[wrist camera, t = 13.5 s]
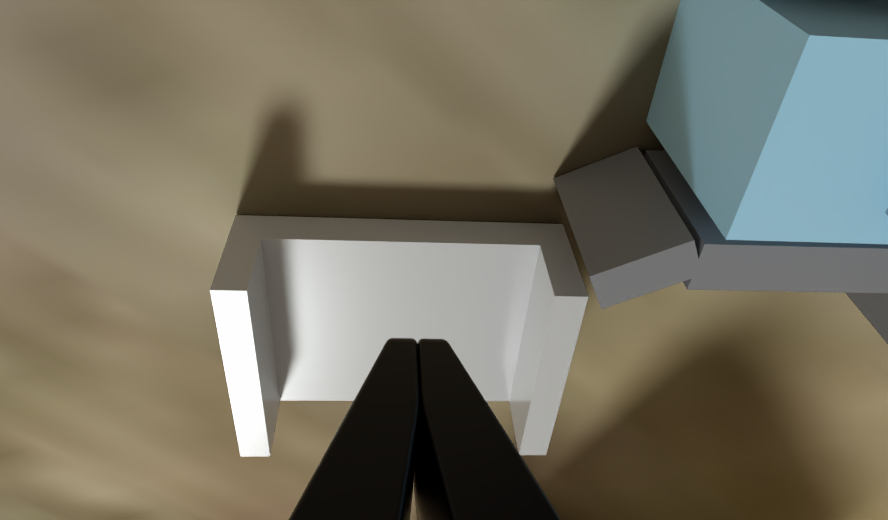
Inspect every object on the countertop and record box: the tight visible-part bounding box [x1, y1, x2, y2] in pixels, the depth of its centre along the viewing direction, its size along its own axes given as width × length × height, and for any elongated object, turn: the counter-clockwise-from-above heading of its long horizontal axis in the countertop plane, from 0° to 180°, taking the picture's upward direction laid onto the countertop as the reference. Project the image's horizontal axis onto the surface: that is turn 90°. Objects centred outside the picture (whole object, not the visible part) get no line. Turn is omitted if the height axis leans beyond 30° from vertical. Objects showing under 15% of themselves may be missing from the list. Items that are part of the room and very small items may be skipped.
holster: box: [210, 215, 588, 456], centre depth 18 cm, size 9×6×3 cm
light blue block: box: [646, 0, 888, 244], centre depth 13 cm, size 6×4×6 cm, turn 86°
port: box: [553, 147, 888, 344], centre depth 13 cm, size 11×12×6 cm
